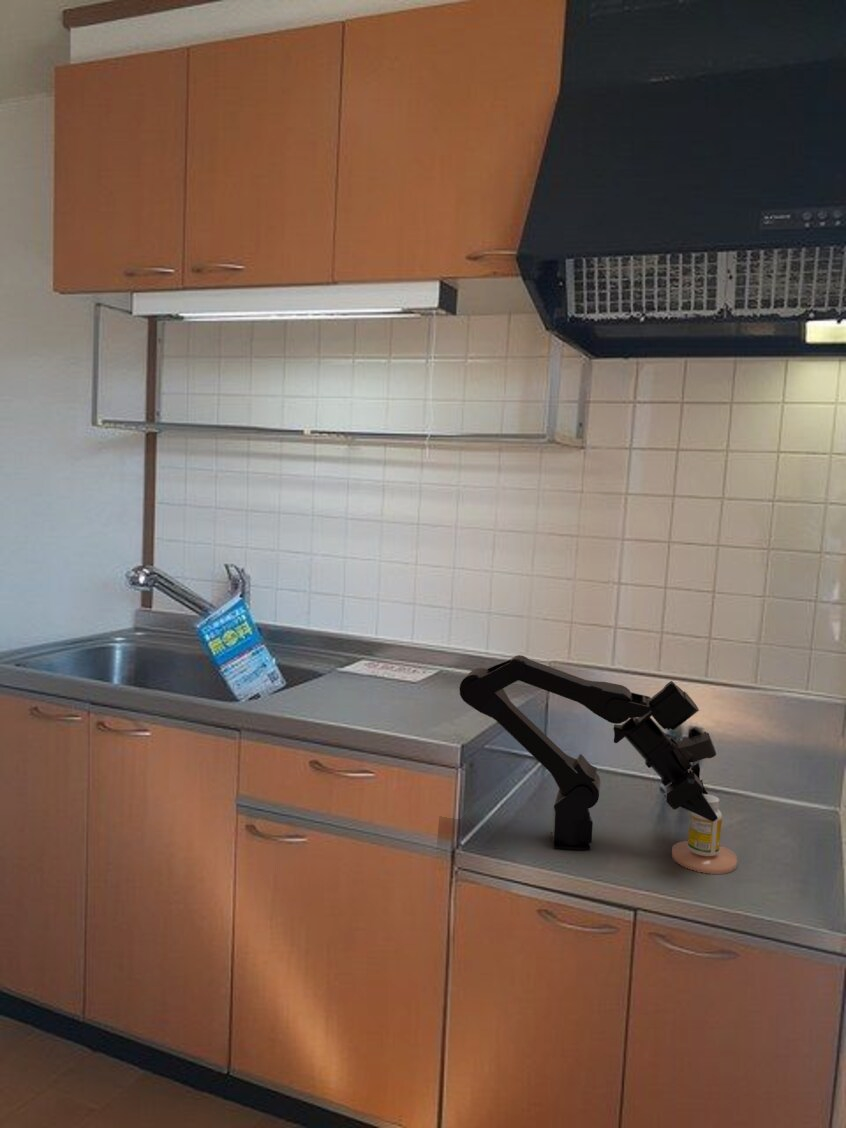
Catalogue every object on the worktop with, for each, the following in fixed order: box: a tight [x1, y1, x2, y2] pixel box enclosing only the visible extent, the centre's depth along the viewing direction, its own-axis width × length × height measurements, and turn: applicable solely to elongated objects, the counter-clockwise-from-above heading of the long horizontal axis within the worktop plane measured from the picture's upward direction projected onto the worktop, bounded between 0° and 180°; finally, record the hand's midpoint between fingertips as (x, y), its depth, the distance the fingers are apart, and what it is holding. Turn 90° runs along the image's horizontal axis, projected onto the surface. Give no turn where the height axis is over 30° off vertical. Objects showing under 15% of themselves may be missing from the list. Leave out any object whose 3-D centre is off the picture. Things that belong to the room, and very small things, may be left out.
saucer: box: [671, 840, 738, 875], centre depth 155 cm, size 11×11×1 cm
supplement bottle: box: [687, 793, 723, 856], centre depth 155 cm, size 5×5×10 cm
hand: (714, 814), depth 154 cm, fingers closed on supplement bottle, 5 cm apart
